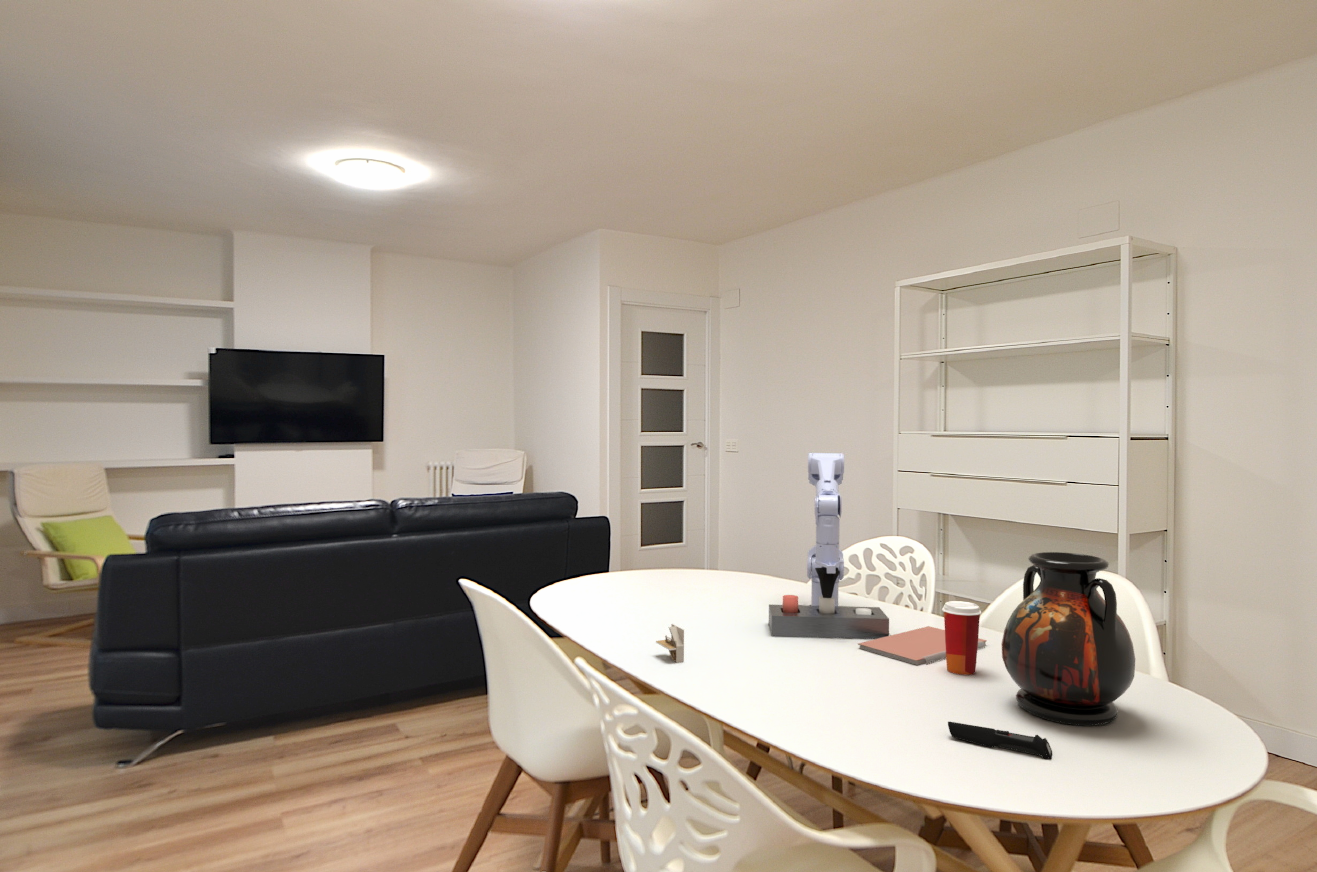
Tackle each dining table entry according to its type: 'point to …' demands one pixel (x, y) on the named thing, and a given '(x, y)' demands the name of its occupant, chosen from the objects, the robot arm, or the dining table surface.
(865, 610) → the plug
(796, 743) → the dining table surface
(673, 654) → the architectural model
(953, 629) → the paper cup
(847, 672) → the dining table surface
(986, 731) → the electric trimmer
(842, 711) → the dining table surface
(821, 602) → the plug
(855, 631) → the block
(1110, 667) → the amphora vase
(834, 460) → the robot arm
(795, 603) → the red plug
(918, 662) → the notebook
